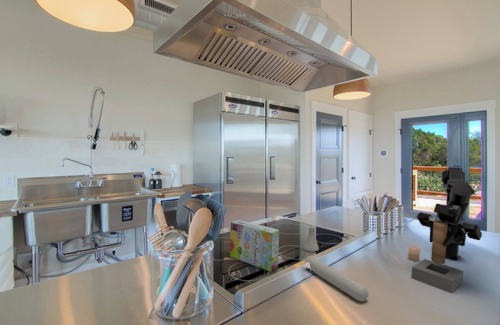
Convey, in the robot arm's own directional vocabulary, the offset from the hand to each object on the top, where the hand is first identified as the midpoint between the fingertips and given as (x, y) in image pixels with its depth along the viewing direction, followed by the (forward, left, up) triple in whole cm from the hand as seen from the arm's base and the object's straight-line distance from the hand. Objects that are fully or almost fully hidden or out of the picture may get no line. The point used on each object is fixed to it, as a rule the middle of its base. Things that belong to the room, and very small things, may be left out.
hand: (437, 243), depth 91 cm
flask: (+15, -44, -14) cm, 48 cm away
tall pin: (-1, 0, -7) cm, 7 cm away
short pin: (-13, -12, -14) cm, 22 cm away
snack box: (+45, -49, -14) cm, 68 cm away
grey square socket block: (-1, 0, -13) cm, 14 cm away
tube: (+32, -20, -14) cm, 40 cm away
